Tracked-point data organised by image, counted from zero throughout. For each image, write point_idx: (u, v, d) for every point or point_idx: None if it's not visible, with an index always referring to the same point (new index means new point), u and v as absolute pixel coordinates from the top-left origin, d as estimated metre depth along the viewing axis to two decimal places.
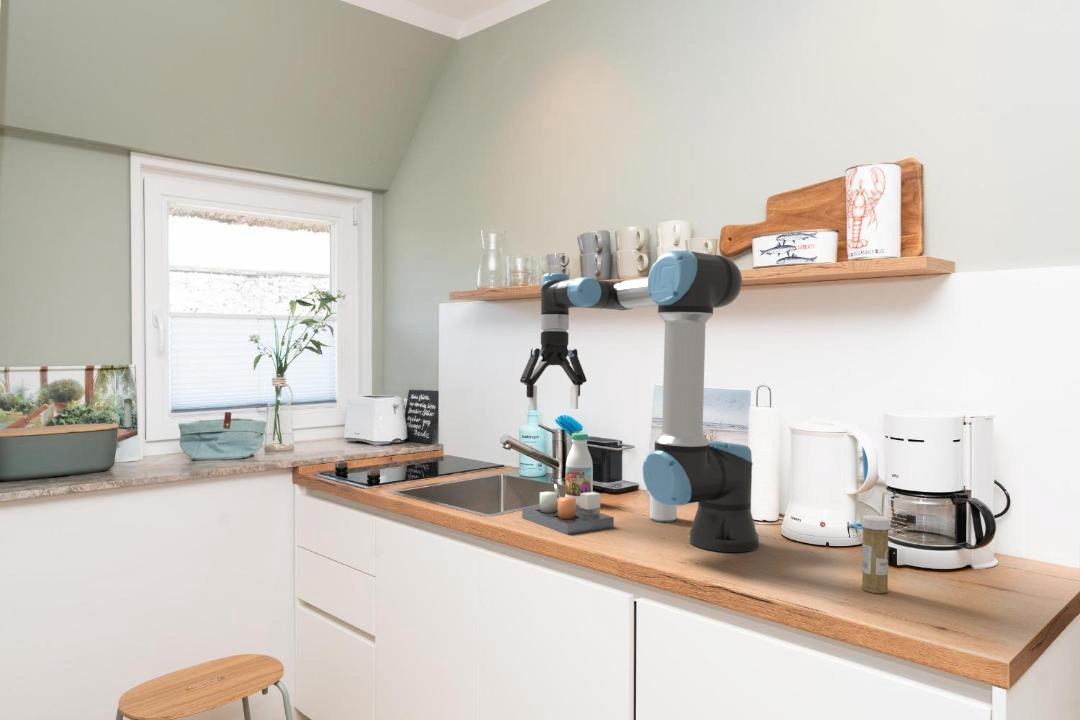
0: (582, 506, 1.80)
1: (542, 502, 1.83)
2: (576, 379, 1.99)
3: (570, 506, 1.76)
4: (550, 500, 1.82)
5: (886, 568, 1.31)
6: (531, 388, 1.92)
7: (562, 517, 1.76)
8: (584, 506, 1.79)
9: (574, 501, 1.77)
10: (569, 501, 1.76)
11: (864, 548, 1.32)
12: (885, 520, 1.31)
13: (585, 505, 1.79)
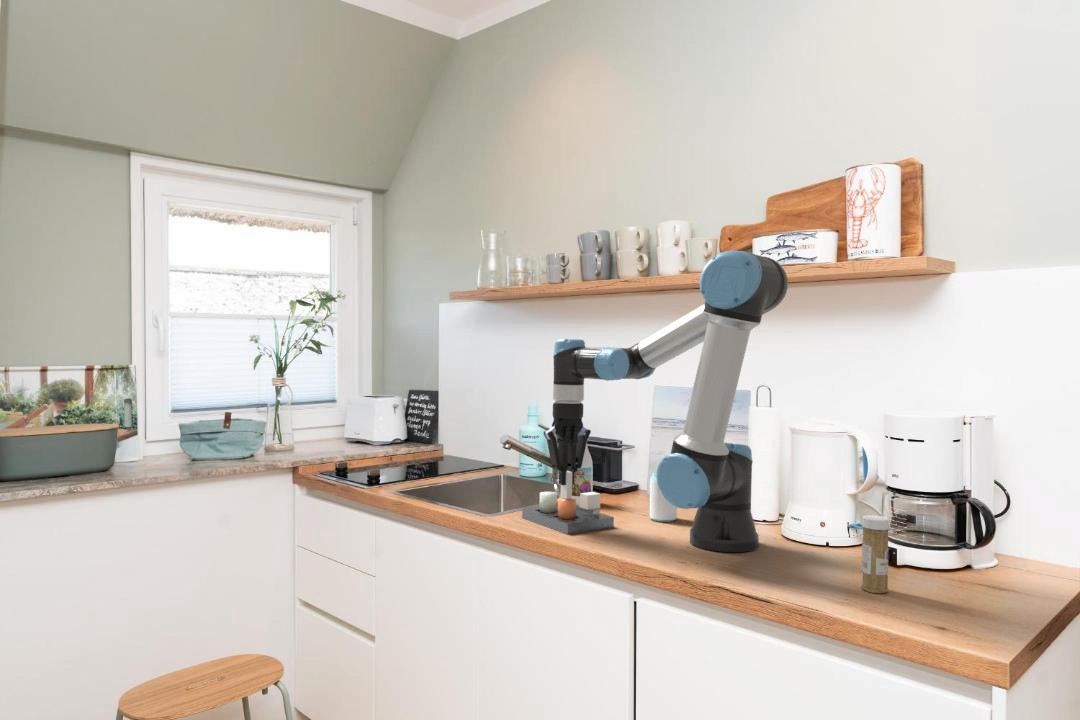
0: (582, 506, 1.80)
1: (542, 502, 1.83)
2: (573, 463, 1.78)
3: (570, 506, 1.76)
4: (550, 500, 1.82)
5: (886, 568, 1.31)
6: (563, 475, 1.77)
7: (562, 517, 1.76)
8: (584, 506, 1.79)
9: (574, 501, 1.77)
10: (569, 501, 1.76)
11: (864, 548, 1.32)
12: (885, 520, 1.31)
13: (585, 505, 1.79)
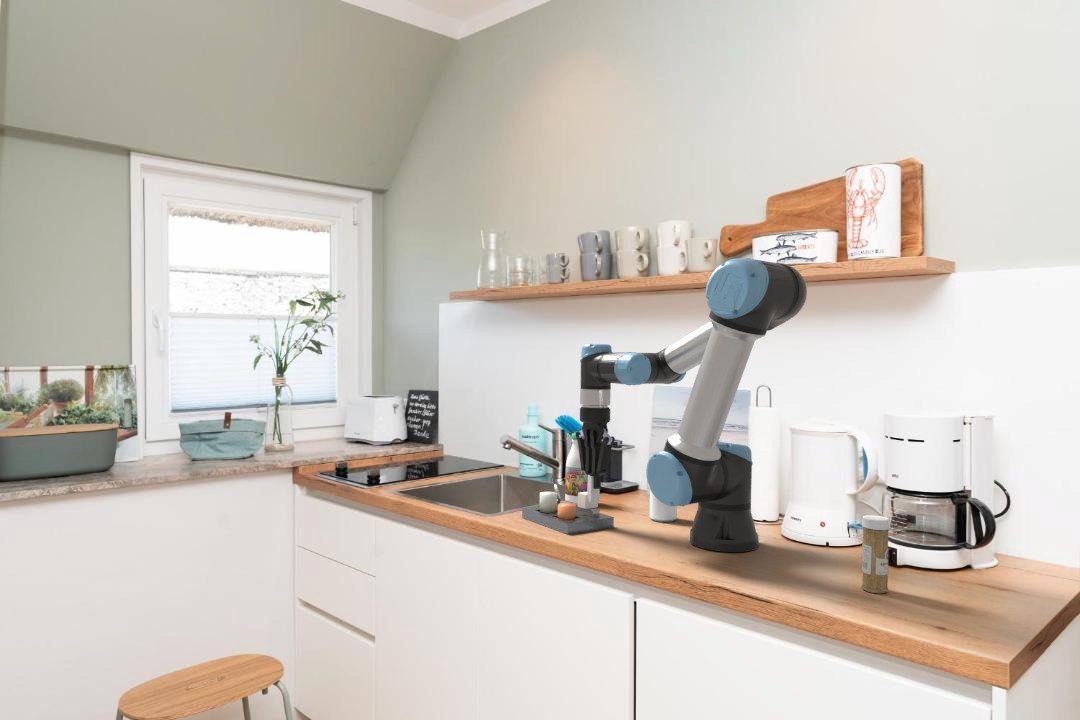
0: (580, 505, 1.81)
1: (542, 502, 1.83)
2: (592, 467, 1.78)
3: (570, 512, 1.76)
4: (550, 500, 1.82)
5: (886, 568, 1.31)
6: (588, 477, 1.80)
7: None
8: (582, 505, 1.80)
9: (574, 507, 1.77)
10: (569, 507, 1.76)
11: (864, 548, 1.32)
12: (885, 520, 1.31)
13: (583, 504, 1.80)
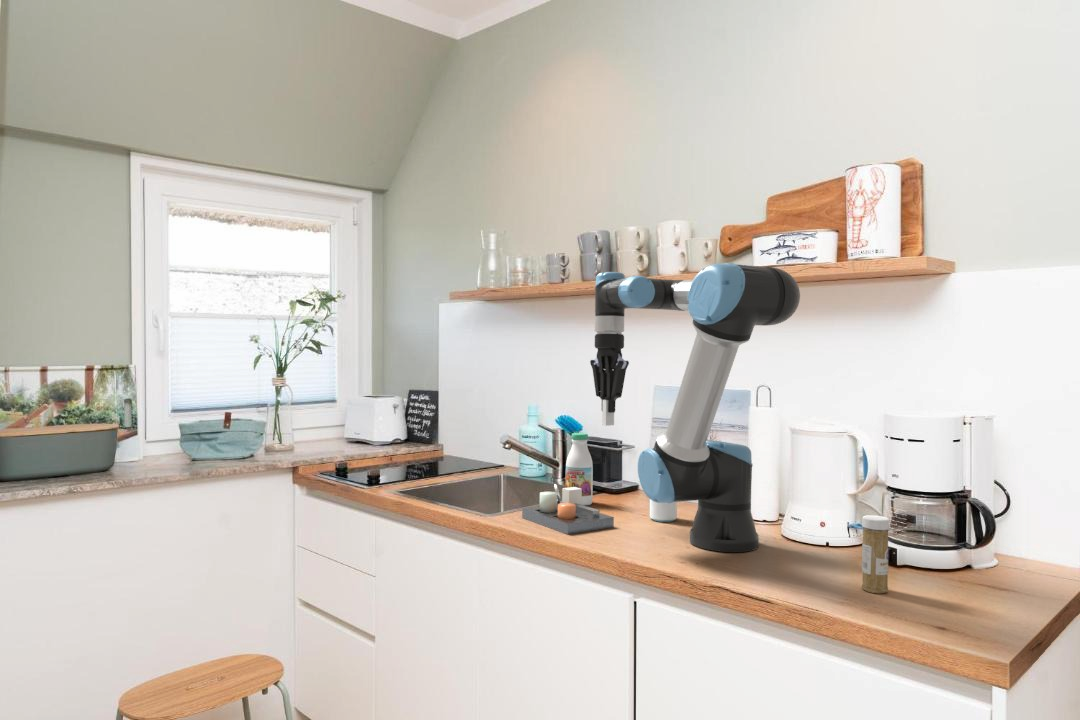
0: (564, 501, 1.87)
1: (542, 502, 1.83)
2: (607, 392, 1.85)
3: (570, 512, 1.76)
4: (550, 500, 1.82)
5: (886, 568, 1.31)
6: (602, 402, 1.87)
7: None
8: (566, 501, 1.86)
9: (574, 507, 1.77)
10: (569, 507, 1.76)
11: (864, 548, 1.32)
12: (885, 520, 1.31)
13: (567, 499, 1.85)
